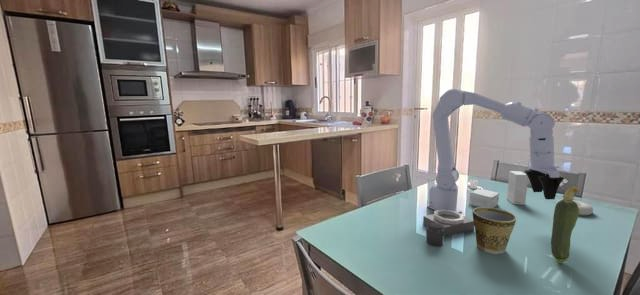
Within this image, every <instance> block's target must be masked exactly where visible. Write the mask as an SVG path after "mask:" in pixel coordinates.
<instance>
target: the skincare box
mask: <svg viewBox="0 0 640 295" xmlns="http://www.w3.org/2000/svg"><path fill="white" fill-rule="evenodd" d="M528 181H529V178H528V176H527V175H526V173H525V172H523V171H520V170H519V171H517V170H509V174H508V183H507V184H508V185H507V194H506V200H507V201H509V202H510V203H511V204H513V205H520V206H521V205H526V200H527V192H528Z"/></svg>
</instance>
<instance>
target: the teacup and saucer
mask: <svg viewBox="0 0 640 295" xmlns="http://www.w3.org/2000/svg"><path fill="white" fill-rule="evenodd" d="M478 182H479V181H478V180H477V179H470V180H469V181H468V182H467V185H464V186H463V188H464V189H465V190H468V191H471V190H477V189H480V188H481V189H483V190H484V188H483V187H481V186H478ZM466 186H467V187H470V188H467V187H466ZM465 187H466V188H465Z"/></svg>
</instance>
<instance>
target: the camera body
mask: <svg viewBox="0 0 640 295" xmlns="http://www.w3.org/2000/svg"><path fill="white" fill-rule="evenodd" d="M422 218H423V219H422V220H423V222H422V225H423V226H425V227H426V228H427V224H429V223H437V224H440V225H442V226H443V227H444V235H443V236H444V237H443V238H445V236H446V237H449V236H450V237H451V236H454V235H458V234H462V233H467V232H470V231H475V226H474V221H473V219H471V218H469V217H467V216H464V215H463V214H461V212H460V213H458V212H455V211H451V210H443V209H442V210H437V211H435V210H434V212H433V214H428V215H427V214H426V215H423V217H422Z"/></svg>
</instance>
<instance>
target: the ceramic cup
mask: <svg viewBox="0 0 640 295" xmlns="http://www.w3.org/2000/svg"><path fill="white" fill-rule="evenodd" d="M472 220H473V221H474V232H475V238H476V239H475V240H476V241H475V242H476V247H477V248H478V249H480V250H481V251H483V252H484V253H488V254H492V255H500V254H505V252H506V249H507V246H508V244H509V242H510V241H509V240H510V237H511V235H512V232H513V231H514V228H515V225H516V221H517V217H516V215H514V214H513V213H512V212H509V211H507V210H505V209H504V210H503V209H501V208H497V207H493V208H491V207H478V206H476V207H475V208H473V209H472Z"/></svg>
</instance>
